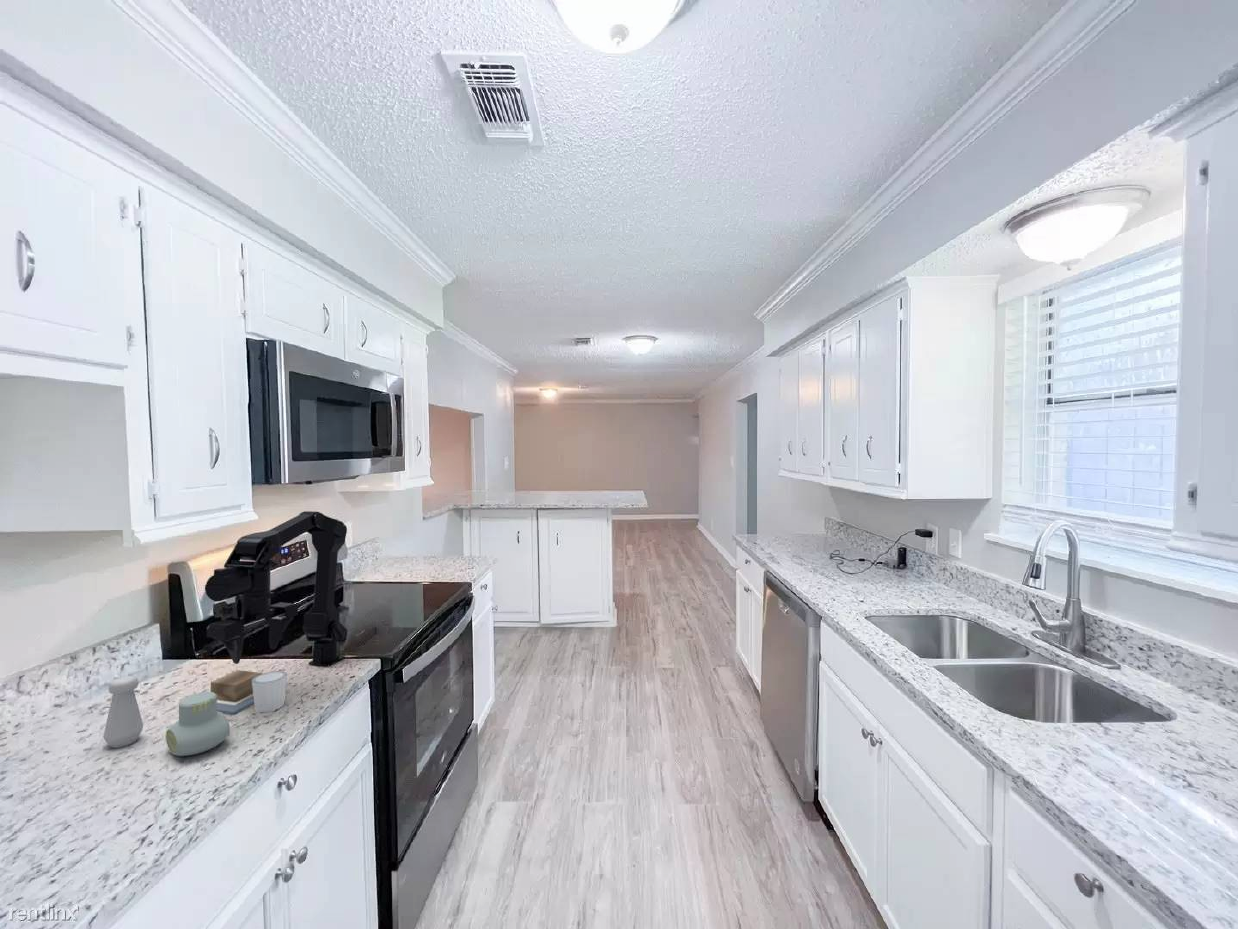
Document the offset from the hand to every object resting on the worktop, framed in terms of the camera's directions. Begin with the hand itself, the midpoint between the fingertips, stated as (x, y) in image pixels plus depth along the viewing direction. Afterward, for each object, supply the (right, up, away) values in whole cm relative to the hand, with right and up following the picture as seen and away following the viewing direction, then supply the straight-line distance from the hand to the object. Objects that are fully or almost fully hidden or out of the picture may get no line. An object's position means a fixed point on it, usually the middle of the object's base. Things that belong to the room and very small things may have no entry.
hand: (255, 656), depth 121 cm
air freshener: (+1, -12, -18) cm, 21 cm away
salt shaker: (-15, -12, -17) cm, 25 cm away
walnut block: (-7, -10, +3) cm, 13 cm away
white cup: (+4, -12, -1) cm, 12 cm away
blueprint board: (-7, -11, +3) cm, 13 cm away
